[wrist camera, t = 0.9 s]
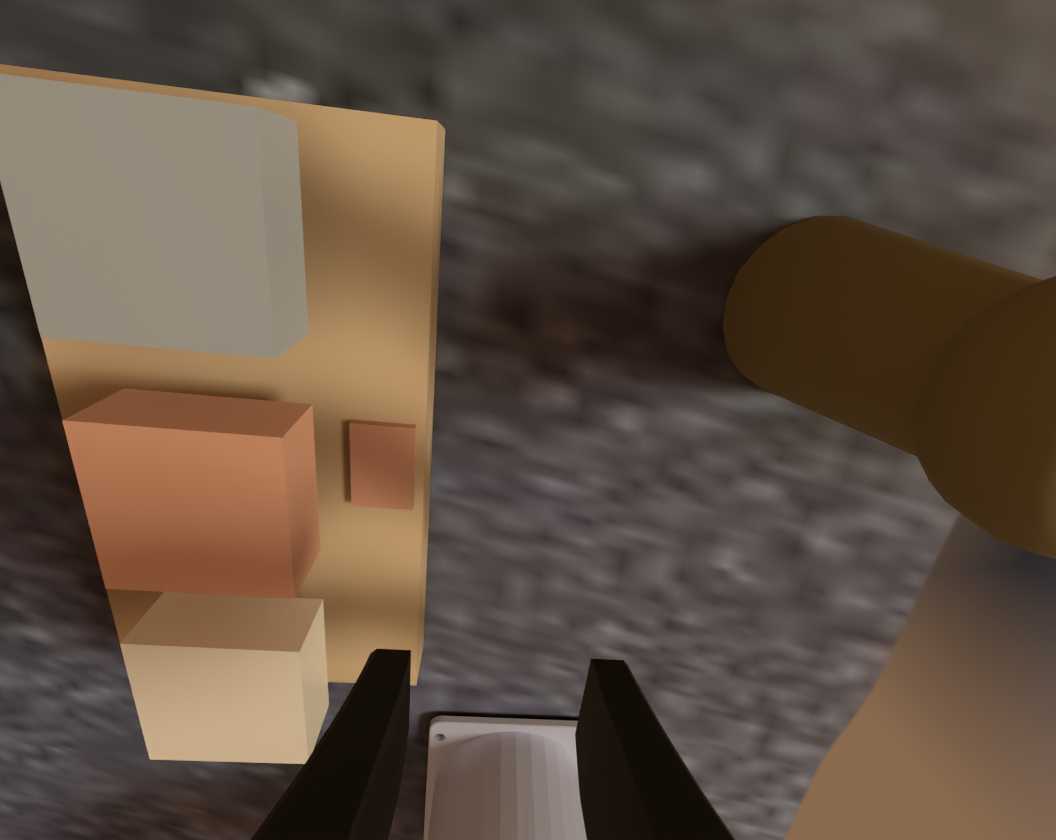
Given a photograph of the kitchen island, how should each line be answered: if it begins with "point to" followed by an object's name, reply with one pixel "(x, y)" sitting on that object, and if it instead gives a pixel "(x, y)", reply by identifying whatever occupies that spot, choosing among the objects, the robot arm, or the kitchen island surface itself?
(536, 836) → the robot arm
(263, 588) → the button terracotta
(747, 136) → the kitchen island surface
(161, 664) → the button cream
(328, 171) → the button board
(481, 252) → the kitchen island surface
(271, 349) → the button slate
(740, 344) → the butternut squash
